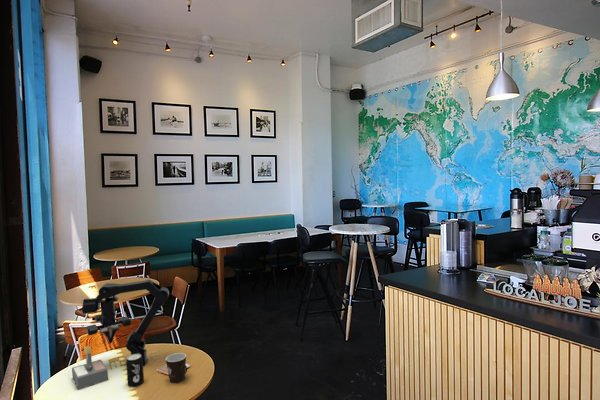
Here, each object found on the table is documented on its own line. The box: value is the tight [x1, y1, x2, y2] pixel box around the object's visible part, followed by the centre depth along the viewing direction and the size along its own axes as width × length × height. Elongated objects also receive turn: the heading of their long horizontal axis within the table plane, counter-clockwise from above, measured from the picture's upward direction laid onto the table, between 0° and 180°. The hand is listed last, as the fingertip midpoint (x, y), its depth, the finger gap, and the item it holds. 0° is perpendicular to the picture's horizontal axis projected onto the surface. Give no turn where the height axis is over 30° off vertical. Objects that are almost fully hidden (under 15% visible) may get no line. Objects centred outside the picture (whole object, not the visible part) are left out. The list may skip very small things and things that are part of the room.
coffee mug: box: [165, 352, 188, 384], centre depth 177 cm, size 12×9×10 cm
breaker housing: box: [71, 359, 109, 391], centre depth 182 cm, size 12×13×5 cm
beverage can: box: [125, 354, 145, 387], centre depth 177 cm, size 7×7×12 cm
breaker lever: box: [83, 345, 93, 370], centre depth 182 cm, size 2×5×9 cm, turn 39°
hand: (110, 343), depth 192 cm, fingers closed
